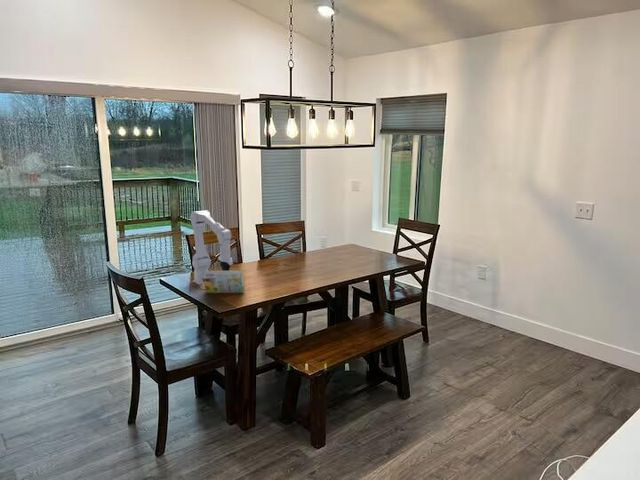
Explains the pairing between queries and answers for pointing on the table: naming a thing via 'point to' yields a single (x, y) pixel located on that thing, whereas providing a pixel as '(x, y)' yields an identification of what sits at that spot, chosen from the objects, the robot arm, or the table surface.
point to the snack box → (223, 281)
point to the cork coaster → (202, 286)
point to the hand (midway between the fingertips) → (225, 274)
